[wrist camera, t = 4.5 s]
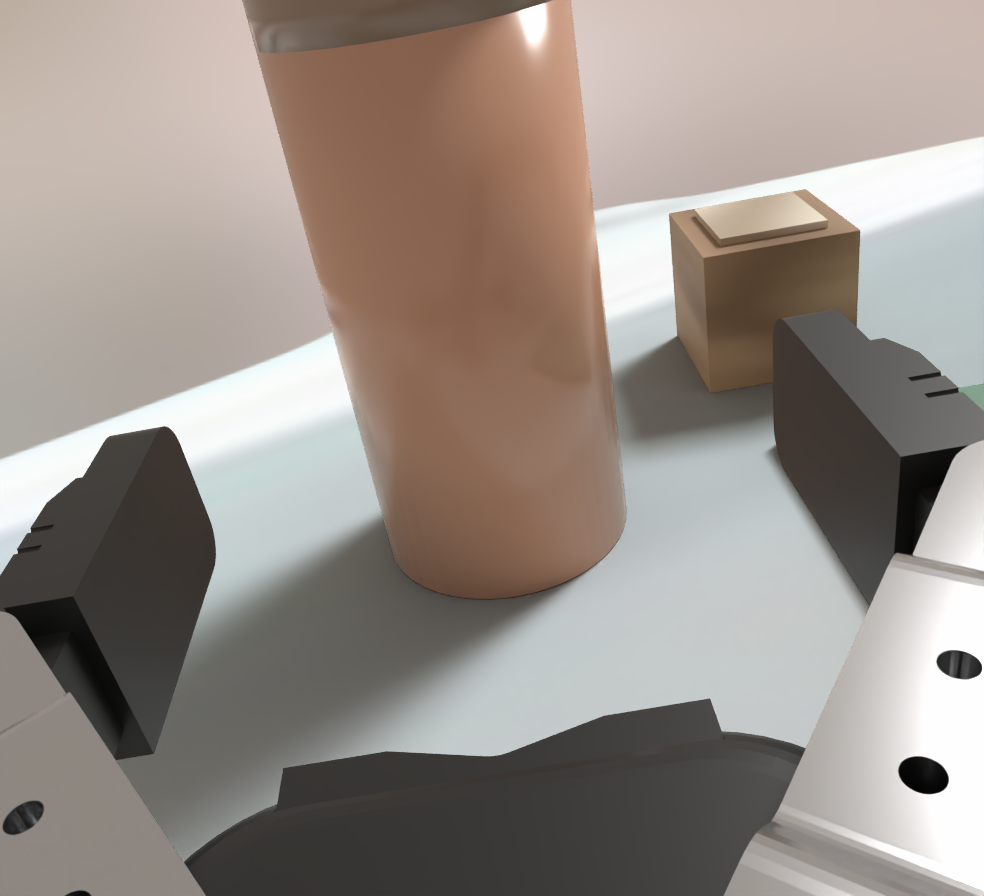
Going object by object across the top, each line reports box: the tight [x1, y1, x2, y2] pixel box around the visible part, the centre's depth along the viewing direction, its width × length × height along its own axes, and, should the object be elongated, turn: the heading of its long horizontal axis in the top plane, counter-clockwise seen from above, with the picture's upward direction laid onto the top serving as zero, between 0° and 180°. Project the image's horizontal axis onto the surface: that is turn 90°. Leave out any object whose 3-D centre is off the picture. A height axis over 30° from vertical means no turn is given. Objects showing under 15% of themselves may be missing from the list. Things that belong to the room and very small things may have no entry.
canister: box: [243, 0, 626, 599], centre depth 19 cm, size 6×6×12 cm
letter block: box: [669, 189, 860, 393], centre depth 26 cm, size 4×4×4 cm
